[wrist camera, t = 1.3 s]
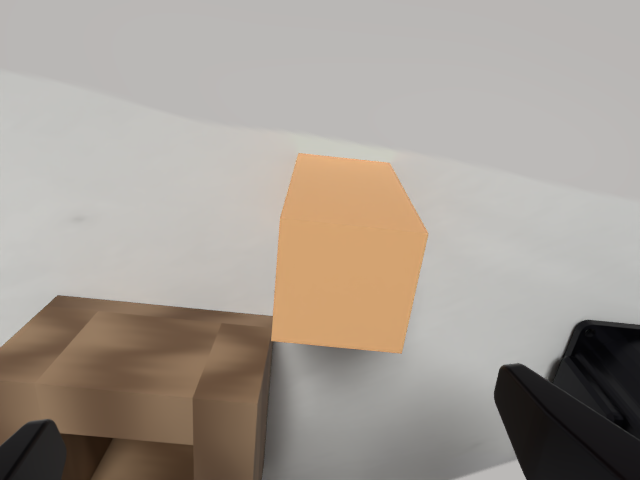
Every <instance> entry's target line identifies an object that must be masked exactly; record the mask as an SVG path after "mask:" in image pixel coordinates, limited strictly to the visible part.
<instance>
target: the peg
mask: <svg viewBox="0 0 640 480" xmlns="http://www.w3.org/2000/svg"><path fill="white" fill-rule="evenodd" d="M427 238H428V232H427V230H426V228H425V227H424V225H423V223H422V221H421V219H420V217H419V216H418V214H417V212H416V210H415V208H414V207H413V205H412V203H411V201H410V199H409V197H408V196H407V194H406V192H405V190H404V188H403V187H402V185H401V183H400V181H399V179H398V177H397V176H396V174H395V172H394V170H393V168H392V167H391V165H390V163H385V162H376V161H367V160H358V159H348V158H339V157H330V156H321V155H311V154H302V153H298V157H297V160H296V164H295V167H294V171H293V174H292V178H291V181H290V185H289V189H288V192H287V196H286V199H285V203H284V206H283V210H282V213H281V217H280V226H279V240H278V254H277V268H276V281H275V295H274V309H273V322H272V336H271V341H277V342H287V343H297V344H308V345H318V346H329V347H339V348H349V349H360V350H370V351H381V352H391V353H401V354H402V350H403V345H404V341H405V336H406V332H407V327H408V323H409V318H410V314H411V309H412V305H413V300H414V296H415V291H416V287H417V282H418V278H419V273H420V269H421V265H422V260H423V256H424V251H425V247H426V242H427Z"/></svg>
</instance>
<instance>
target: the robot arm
mask: <svg viewBox="0 0 640 480" xmlns="http://www.w3.org/2000/svg"><path fill="white" fill-rule="evenodd" d="M588 329H590V330H589V331H588V332H586V331H587V330H588ZM494 399H495V403H496V406H497V409H498V411H499V414H500V416H501V419H502V421H503V424H504V426H505V429H506V431H507V434H508V436H509V439H510V441H511V444H512V446H513V449H514V451H515V454H516V456H517V459H518V461H519V464H520V466H521V468H522V471H523V473H524V475H525V477H526V479H527V480H640V325H635V324H625V323H615V322H605V321H595V320H585V321H582V322H580V323H579V324H578V325H577V327H576V329H575V331H574V334H573V336H572V339H571V341H570V343H569V346H568V348H567V351H566V353H565V356H564V358H563V360H562V362H561V364H560V367H559V369H558V372H557V374H556V376H555V379H554V381H553V384H552V383H551V382H549V381H548V380H546V379H545V378H543V377H542V376H540V375H538V374H537V373H535V372H534V371H532V370H531V369H529V368H528V367H526V366H524V365H522V364H519V363H517V364H508V365H503V366H501V368H500V369H499V373H498V377H497V382H496V386H495V390H494ZM66 457H67V449H66V445H65V442H64V440H63V438H62V436H61V434H60V432H59V430H58V428H57V425H56V423H55V422H54V421H53V420H51V419H43V420H34V421H30V422H27V423H26V424H24V425H23V426H22V427H21V428H20V429H19V430H17V431H16V432H15V433H14V434H13V435H12V436H11V437H10V438H8V439H7V440H6V441H5V442H4V443H3V444H2V445H1V446H0V480H61V479H62V474H63V470H64V466H65V462H66Z"/></svg>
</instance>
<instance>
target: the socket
mask: <svg viewBox="0 0 640 480" xmlns="http://www.w3.org/2000/svg"><path fill="white" fill-rule="evenodd" d="M272 322H273V316H264V315H254V314H244V313H234V312H223V311H213V310H203V309H192V308H182V307H172V306H162V305H151V304H141V303H131V302H121V301H110V300H100V299H90V298H80V297H69V296H59V295H58V296H56V297H55V298H54V299H53V300H52V301H51V302H50V303H49V304H48V305H47V306H45V307H44V308H43V309H42V310H41V311H40V312H39V313H38V314H37V315H36V316H35V317H33V318H32V319H31V320H30V321H29V322H28V323H27V324H26V325H25V326H24V327H22V328H21V329H20V330H19V331H18V332H17V333H16V334H15V335H14V336H13V337H11V338H10V339H9V340H8V341H7V342H6V343H5V344H4V345H3V346H2V347H0V446H1V445H2V444H3V443H4V442H5V441H6V440H7V439H8V438H10V437H11V436H12V435H13V434H14V433H15V432H16V431H17V430H19V429H20V428H21V427H22V426H23V425H24V424H26V423H27V422H30V421H34V420H43V419H51V420H53V421H54V422H55V423H56V425H57V428H58V430H59V432H60V434H61V436H62V438H63V440H64V442H65V445H66V449H67V457H66V462H65V466H64V470H63V474H62V479H61V480H262V473H263V467H264V453H265V440H266V427H267V413H268V400H269V386H270V373H271V360H272V346H273V341H271V336H272Z"/></svg>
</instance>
